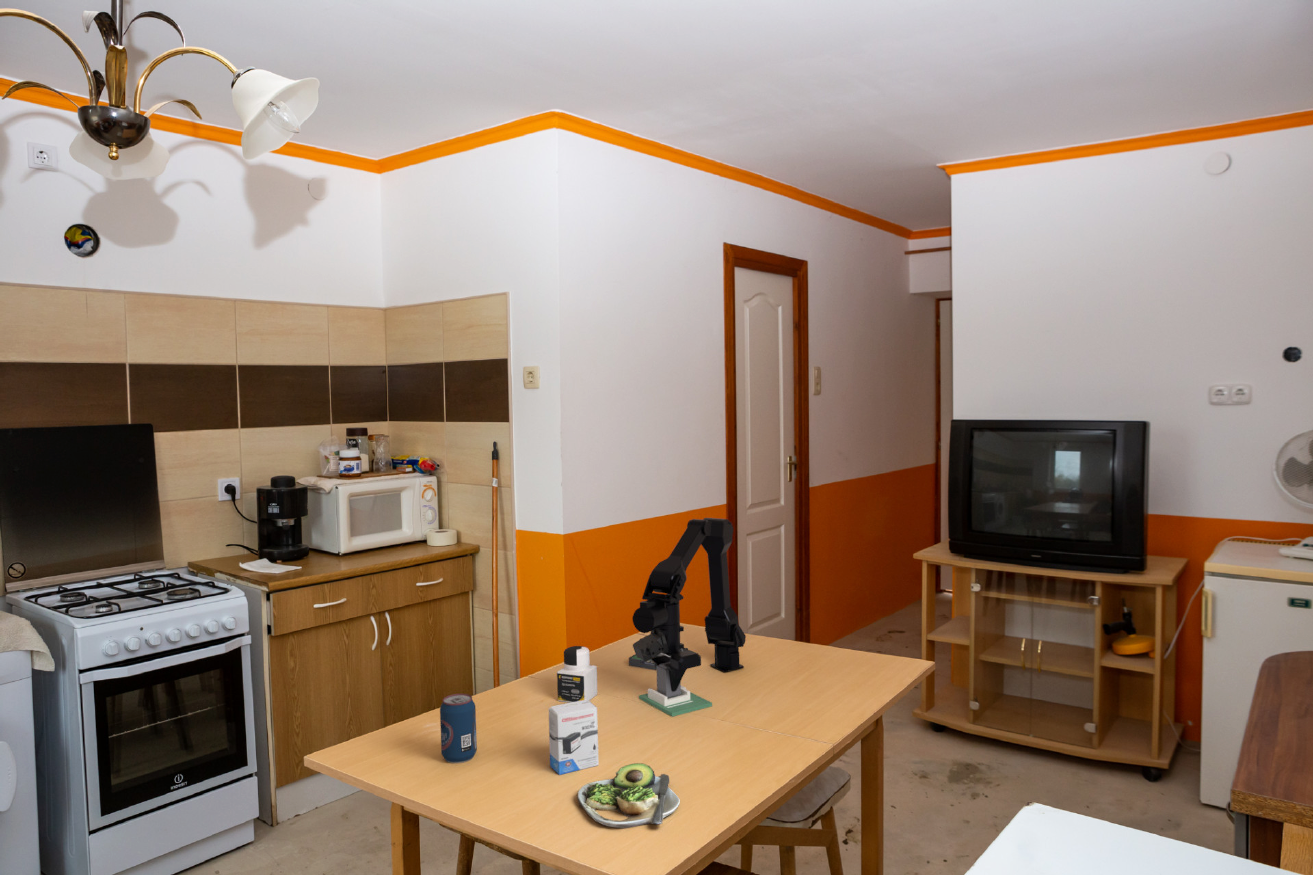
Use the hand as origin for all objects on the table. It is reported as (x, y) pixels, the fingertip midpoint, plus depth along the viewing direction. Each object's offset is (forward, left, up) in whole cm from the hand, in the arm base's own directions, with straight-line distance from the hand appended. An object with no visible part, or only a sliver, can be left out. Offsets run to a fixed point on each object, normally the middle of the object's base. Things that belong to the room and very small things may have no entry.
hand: (668, 688), depth 204 cm
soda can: (+1, -51, -3) cm, 51 cm away
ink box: (+18, -34, -3) cm, 39 cm away
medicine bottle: (-15, -16, -3) cm, 22 cm away
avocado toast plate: (+37, -33, -4) cm, 50 cm away
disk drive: (-27, +15, -4) cm, 31 cm away
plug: (0, 0, -1) cm, 1 cm away
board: (+1, +1, -3) cm, 3 cm away
